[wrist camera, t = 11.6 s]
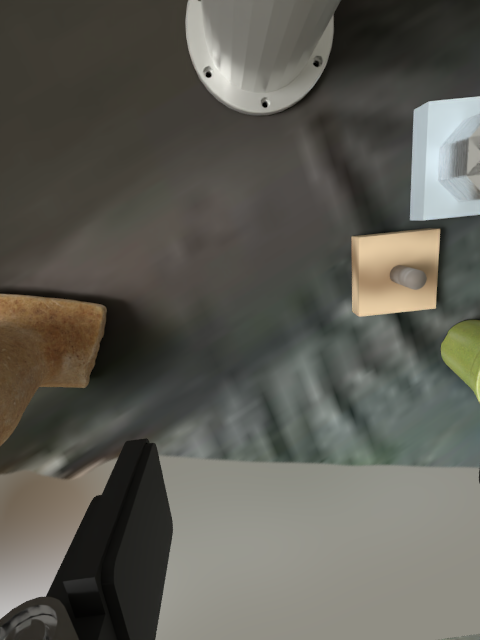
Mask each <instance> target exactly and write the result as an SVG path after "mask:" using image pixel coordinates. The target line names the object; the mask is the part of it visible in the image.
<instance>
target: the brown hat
mask: <svg viewBox="0 0 480 640" xmlns="http://www.w3.org/2000/svg"><path fill="white" fill-rule="evenodd" d="M106 312H107V309H106V307H105V306H103V305H101V304H96V303H90V302H81V301H77V300H68V299H59V298H47V297H39V296H29V295H18V294H0V446H1V445H2V444H3V443H4V442H5V441H6V440H7V439H8V438H9V436H10V435H11V434H12V432H13V431H14V429H15V428H16V426H17V425H18V423H19V421H20V419H21V417H22V415H23V412H24V411H25V409H26V407H27V405H28V404H29V402H30V400H31V399H32V397H33V395H34V394H35V392H36V390H37V389H38V388H39V387H79V388H85V387H86V386H87V385H88V384H89V380H90V377H89V376H90V373H91V371H92V369H93V368H94V366H95V359H96V357H97V352H98V351H99V347H100V341H101V339H102V338H103V336H104V328H105V323H106Z"/></svg>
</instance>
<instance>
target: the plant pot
mask: <svg viewBox="0 0 480 640" xmlns="http://www.w3.org/2000/svg"><path fill="white" fill-rule="evenodd" d="M441 355H442V358H443V360H444V362H445V363H446V364H447V365H448V366H449V367H450V368H451V369H452V370H453V371H454V372H455V373H456V374H457V375H458V376H459V377H460V378H461V379H462V380H463V381H464V382H465V383H466V384H467V385H468V386H469V387H470V388H471V389H472V390H473V391H474V393H475V395H476V396H477V398H478V401H479V403H480V321H479V320H466V321H463V322H460V323H458V324H456V325H455V326H453V327H452V328H451V329H450V330H449V331H448V334H447V336H446V338H445V339H444V341H443V342H442V344H441Z"/></svg>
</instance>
